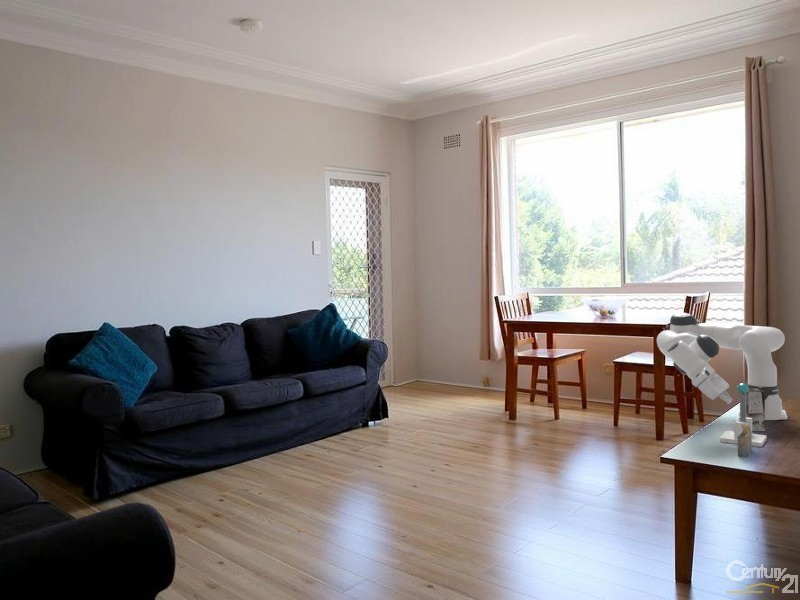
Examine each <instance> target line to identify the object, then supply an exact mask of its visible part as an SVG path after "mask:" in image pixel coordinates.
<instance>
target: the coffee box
mask: <svg viewBox="0 0 800 600" xmlns="http://www.w3.org/2000/svg"><path fill="white" fill-rule="evenodd" d="M746 417H747V418H752V432H765V431H766V420H765V392H764V391H762V390H760V389H758V388H749V391H748V392H747V393H746Z"/></svg>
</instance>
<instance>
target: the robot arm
mask: <svg viewBox="0 0 800 600" xmlns="http://www.w3.org/2000/svg"><path fill="white" fill-rule="evenodd" d="M669 324H670V325H669V327H670V329H669V330H668V329H667V330H663V331H660V333H658V335H657V336H656V345H657V348H658V349H659V351H660V352H661V353H662V354H663V355H664V356H665V357H667V358H670V359H671V360H672V362H673V363H672V364H673V365H672V366H673V367H674V368H676V370H678V371H679V372H680V373H681V375H682V376H687V377H688V378H689V379H690V380H691V384H692V386H694V387H695V388H698V390H699V391H701V392H702V393H703V394H704V395H705V396H706V397H708V398H709V399H710V400H711V401H714V400H715V399H717V398H718V397H719V398H720V399H721V400H722V401H725V403H727V405H730V404H731V403H732V402H734V399H733V398H732V397H731V396H730V395H729V393H728V392H727V389H729V388H730V385H729V383H728V382H727V381H726V380H724V378H722V377H721V376H720V375H719V374H717V373H716V370H715V369H714V368H713V367H712V366H711V365H710V364H709V363H708V362H709V361H711V359H713V358H715V357H716V356H717V355H719V354H720V353H719V352H720V348H721V349H726V350H727V349H729V350H735V351H737V350H741V351H742V353H743V354H744V357H745V361H746V367H747V384H746V385H747V386H748V387H749V388H758V389H760V390H762V391H764V392H765V421H778V420H779V421H780V420H788V417H789V416H788V415H787V412H786V410H785V409H784V406H782V405H783V402H782V401H783V400H782V399H781V397H780V396H779V385H778V368H777V366H776V364H775V363H774V361H773V357H772V352H775V351H777V350H779V349H780V348H781V347H782V346H784V343H785V342H786V341H785V340H786V336H785V334H784V333H783V331H782V330H781V329H779V328H777V327H773V326H761V325H746V324H745V325H740V324H730V323H729V324H728V323H721V322H720V323H719V322H703V323H700V320H699V319H697V318H696V317H695V316H694V315H693V314H691V313H687V312H677V313H675V314H673V315H672V316H671V317H670V319H669ZM738 415H739V416H740V411H739V412H738Z"/></svg>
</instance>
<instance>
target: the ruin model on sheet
mask: <svg viewBox="0 0 800 600" xmlns="http://www.w3.org/2000/svg"><path fill="white" fill-rule="evenodd" d="M741 426H742V428H743V430H742V432H741V433H740V434H739V436H738V444H737V457H739V458H747V457H748V456H749V454H750V452H751V451H752V450H753V448H752V447H753V446H752V434H753V431H752V430H750V427H748V426H746V425H744V424H743V425H741ZM747 455H748V456H747Z"/></svg>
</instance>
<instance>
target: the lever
mask: <svg viewBox="0 0 800 600" xmlns="http://www.w3.org/2000/svg"><path fill="white" fill-rule="evenodd" d="M736 391H737V392H738V393H739V412H740V415H739V417H740V422H746V393H747V392H748V391H749V387H748V386H747V384H746V383H742V382H741V383H739V384H738V385H737V387H736ZM748 427H749V425H748Z"/></svg>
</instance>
